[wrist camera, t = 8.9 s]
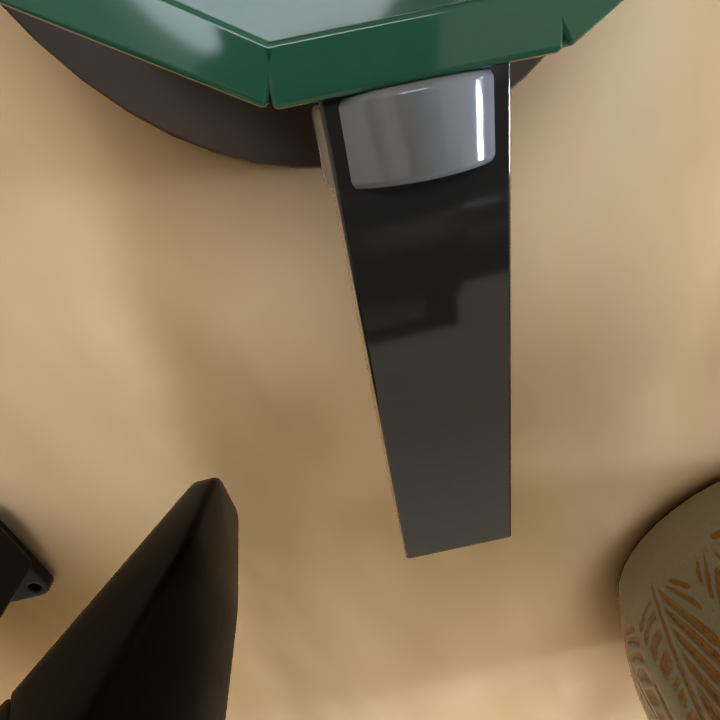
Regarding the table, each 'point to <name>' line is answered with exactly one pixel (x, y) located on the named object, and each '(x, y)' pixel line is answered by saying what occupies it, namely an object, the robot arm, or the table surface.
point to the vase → (676, 612)
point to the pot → (392, 199)
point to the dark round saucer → (193, 101)
